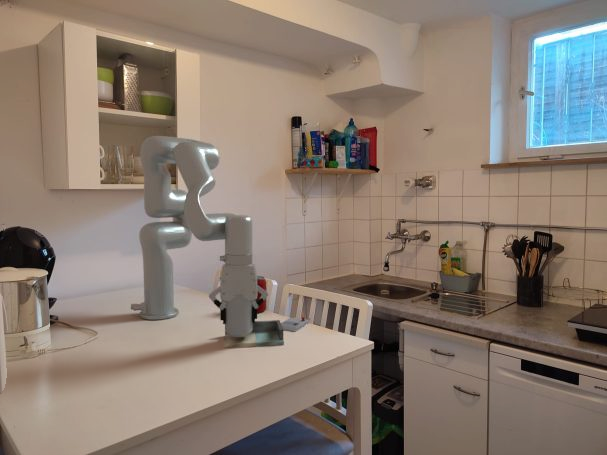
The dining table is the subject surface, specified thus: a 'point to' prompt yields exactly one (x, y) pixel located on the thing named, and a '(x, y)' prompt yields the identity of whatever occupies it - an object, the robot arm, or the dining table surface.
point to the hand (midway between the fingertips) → (238, 321)
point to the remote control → (294, 324)
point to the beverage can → (261, 283)
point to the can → (238, 317)
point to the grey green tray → (258, 335)
